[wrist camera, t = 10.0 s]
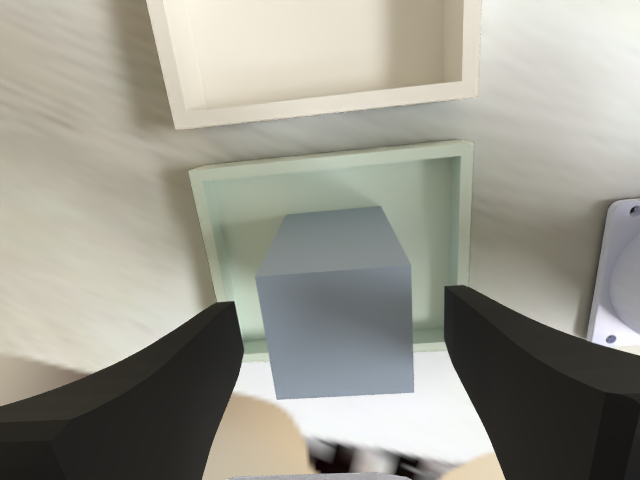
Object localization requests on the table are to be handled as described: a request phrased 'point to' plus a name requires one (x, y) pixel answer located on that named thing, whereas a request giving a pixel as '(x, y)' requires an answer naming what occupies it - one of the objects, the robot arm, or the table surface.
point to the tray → (336, 194)
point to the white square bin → (312, 56)
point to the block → (337, 306)
